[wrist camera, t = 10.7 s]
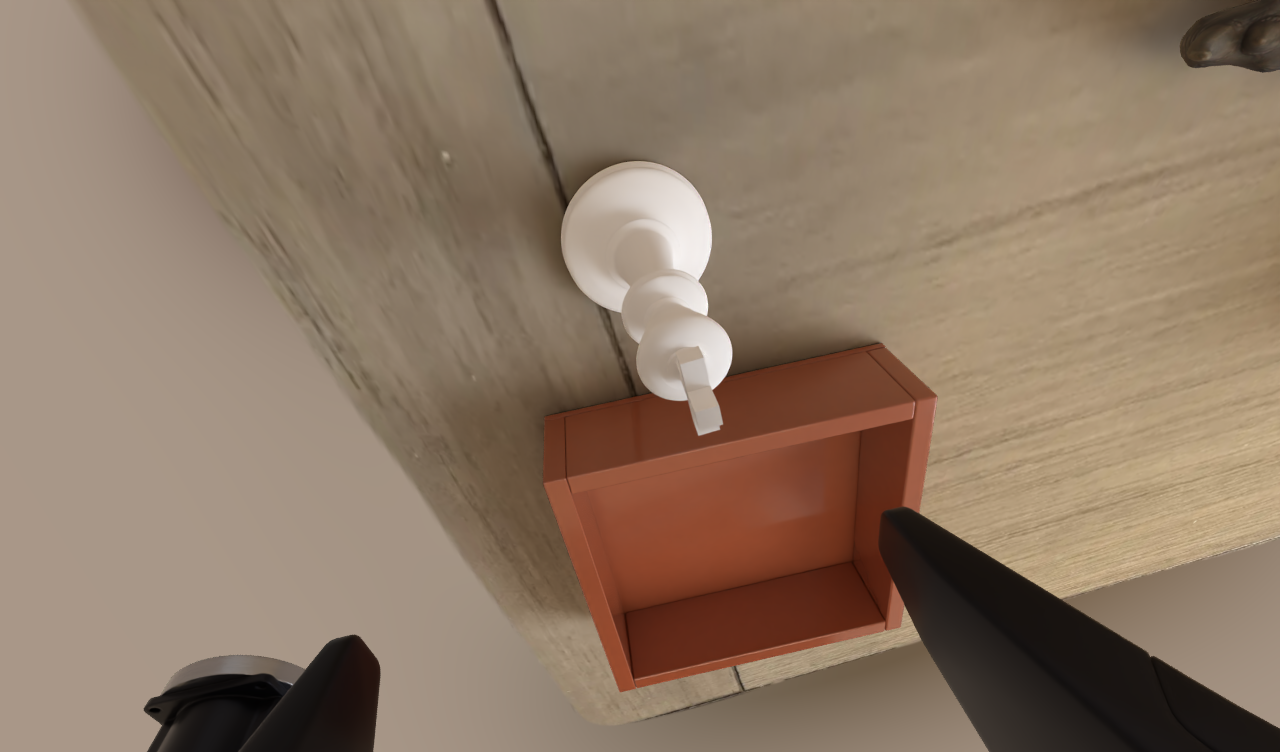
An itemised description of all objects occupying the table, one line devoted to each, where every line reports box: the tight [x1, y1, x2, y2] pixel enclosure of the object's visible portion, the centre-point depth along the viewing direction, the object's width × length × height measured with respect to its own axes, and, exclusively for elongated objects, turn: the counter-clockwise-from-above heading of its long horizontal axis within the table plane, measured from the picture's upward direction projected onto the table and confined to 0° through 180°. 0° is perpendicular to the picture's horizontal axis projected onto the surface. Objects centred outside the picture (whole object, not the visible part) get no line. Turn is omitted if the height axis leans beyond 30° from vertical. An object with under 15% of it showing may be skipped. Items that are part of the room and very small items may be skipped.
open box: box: [543, 343, 938, 692], centre depth 23 cm, size 14×14×4 cm
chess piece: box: [561, 161, 732, 436], centre depth 14 cm, size 5×5×10 cm
